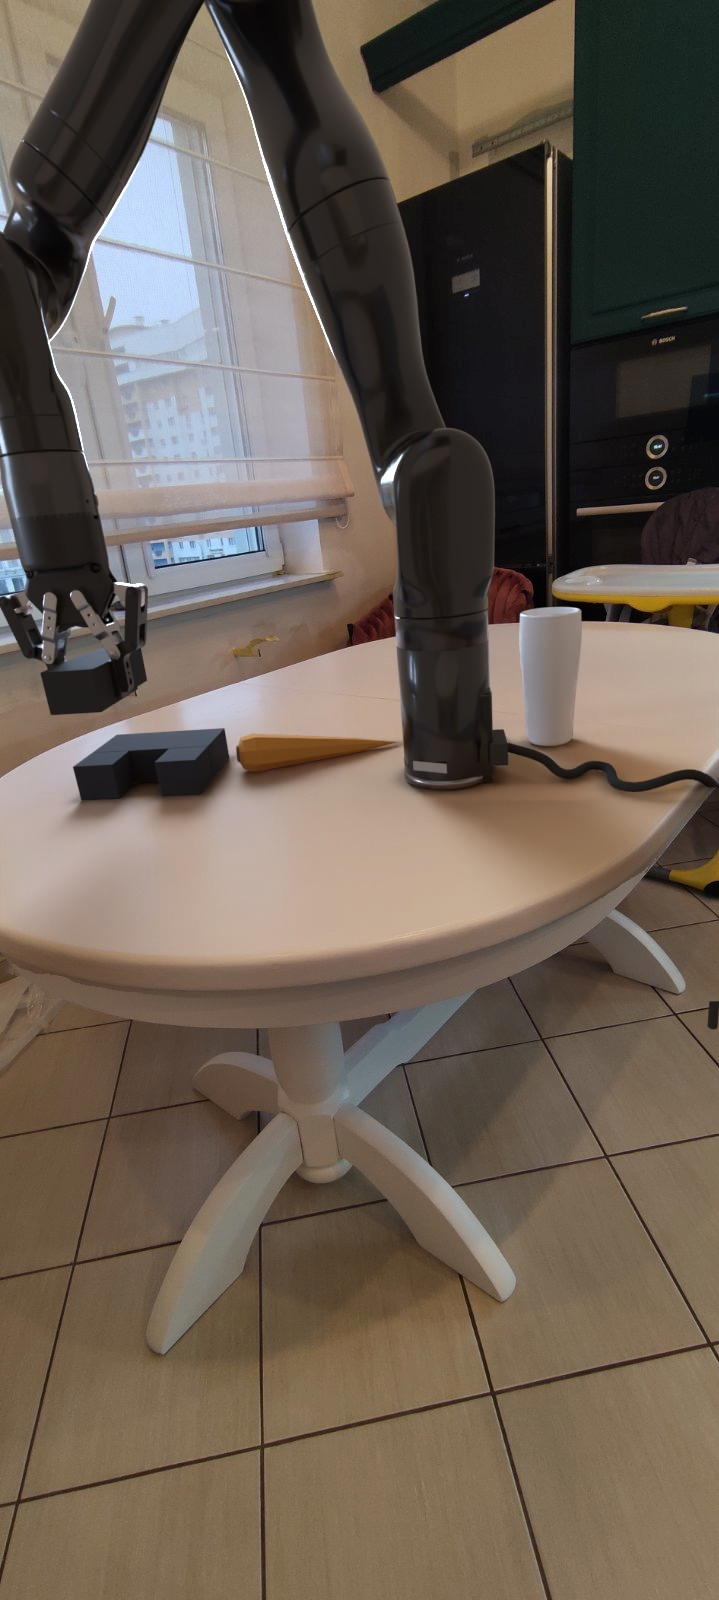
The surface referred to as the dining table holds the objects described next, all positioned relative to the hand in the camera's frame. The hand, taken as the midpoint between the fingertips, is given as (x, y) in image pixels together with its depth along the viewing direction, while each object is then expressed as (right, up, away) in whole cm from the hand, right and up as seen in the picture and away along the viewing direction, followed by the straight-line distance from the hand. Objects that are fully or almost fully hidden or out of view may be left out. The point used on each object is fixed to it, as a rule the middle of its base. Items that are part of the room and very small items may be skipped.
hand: (96, 697), depth 71 cm
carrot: (+21, -5, +17) cm, 27 cm away
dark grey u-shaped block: (+2, -7, +15) cm, 17 cm away
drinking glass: (+48, -3, +15) cm, 51 cm away
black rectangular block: (0, 0, +2) cm, 2 cm away
